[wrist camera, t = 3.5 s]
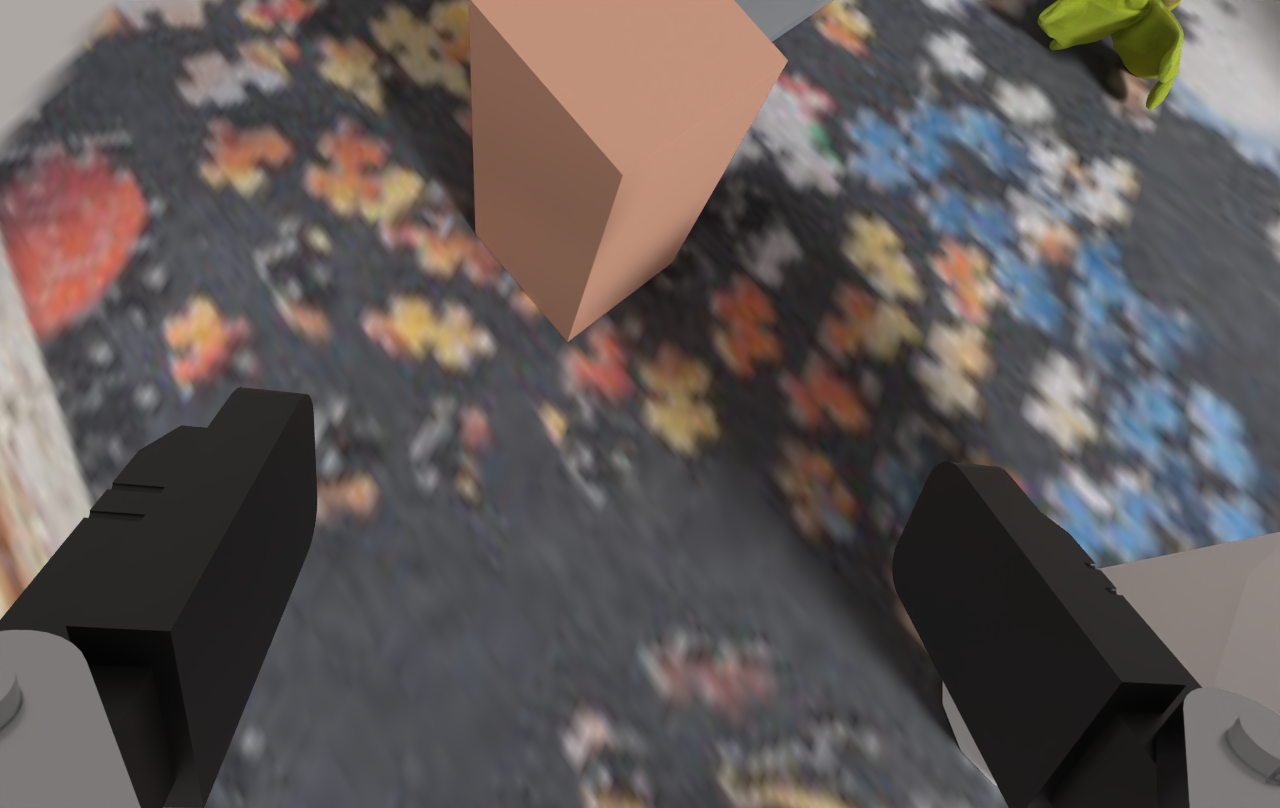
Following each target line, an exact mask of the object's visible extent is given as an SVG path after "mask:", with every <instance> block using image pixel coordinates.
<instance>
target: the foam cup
mask: <svg viewBox="0 0 1280 808" xmlns="http://www.w3.org/2000/svg"><path fill="white" fill-rule="evenodd" d="M1098 570H1101V571H1102V572H1103V573H1104V574H1105V575H1106V577H1107V578H1108V579H1109V580H1110V581H1111V582H1112V584H1113V585H1114V586H1115V587H1116V588H1117V590H1116V593H1117V595H1123V596H1124V597H1125V599H1126V600H1127V601H1128V602H1129V603H1130V604H1131V606H1132V607H1133V608H1134V609H1135V610H1136V611H1137V612H1138V614H1139V615H1140V616H1141V617H1142V618H1143V619H1144V621H1145V622H1146V623H1147V624H1148V625H1149V626H1150V628H1151V629H1152V630H1153V631H1154V632H1155V633H1156V635H1157V636H1158V637H1159V638H1160V639H1161V640H1162V641H1163V643H1164V644H1165V645H1166V646H1167V647H1168V648H1169V650H1170V651H1171V652H1172V653H1173V654H1174V655H1175V657H1176V658H1177V659H1178V660H1179V661H1180V662H1181V663H1182V665H1183V666H1184V667H1185V668H1186V669H1187V670H1188V672H1189V673H1190V674H1191V675H1192V676H1193V677H1194V679H1195V680H1196V681H1197V682H1198V683H1199V684H1200V685H1201V687H1202V688H1207V687H1209V688H1219V689H1223V690H1228V691H1231V692H1234V693H1237V694H1240V695H1243V696H1245V697H1248V698H1250V699H1252V700H1255V701H1256V702H1258V703H1260V704H1262V705H1264V706H1266V707H1268V708H1270V709H1271V710H1273V711H1275V712H1276V713H1278V714H1279V715H1280V532H1278V533H1273V534H1268V535H1263V536H1258V537H1253V538H1248V539H1243V540H1238V541H1233V542H1228V543H1224V544H1219V545H1214V546H1209V547H1204V548H1199V549H1194V550H1189V551H1184V552H1179V553H1174V554H1170V555H1165V556H1160V557H1155V558H1150V559H1145V560H1140V561H1135V562H1130V563H1125V564H1120V565H1116V566H1111V567H1106V568H1101V569H1098ZM943 707H944V709H945V712H946V714H947V717H948V719H949V722H950V724H951V727H952V729H953V732H954V735H955V737H956V740H957V742H958V745H959V747H960V750H961V751H962V752H963V753H964V754H965V755H966V756H967V757H968V758H969V759H970V761H971V762H972V763H973V764H974V765H975V766H976V767H977V768H978V769H979V770H980V771H981V772H982V773H983V774H984V775H985V776H986V777H987V778H988V779H989V780H990V781H991V782H992V783H993V784H994V785H996V786H997V784H996V782H995V780H994V778H993V776H992V774H991V772H990V771H989V769H988V767H987V765H986V763H985V761H984V759H983V757H982V755H981V753H980V751H979V749H978V747H977V746H976V744H975V742H974V740H973V738H972V736H971V734H970V732H969V730H968V728H967V726H966V724H965V723H964V721H963V719H962V717H961V715H960V713H959V711H958V709H957V707H956V705H955V703H954V701H953V699H952V698H951V696H950V694H949V692H948V690H947V688H946V686H945V684H944V682H943Z"/></svg>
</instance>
